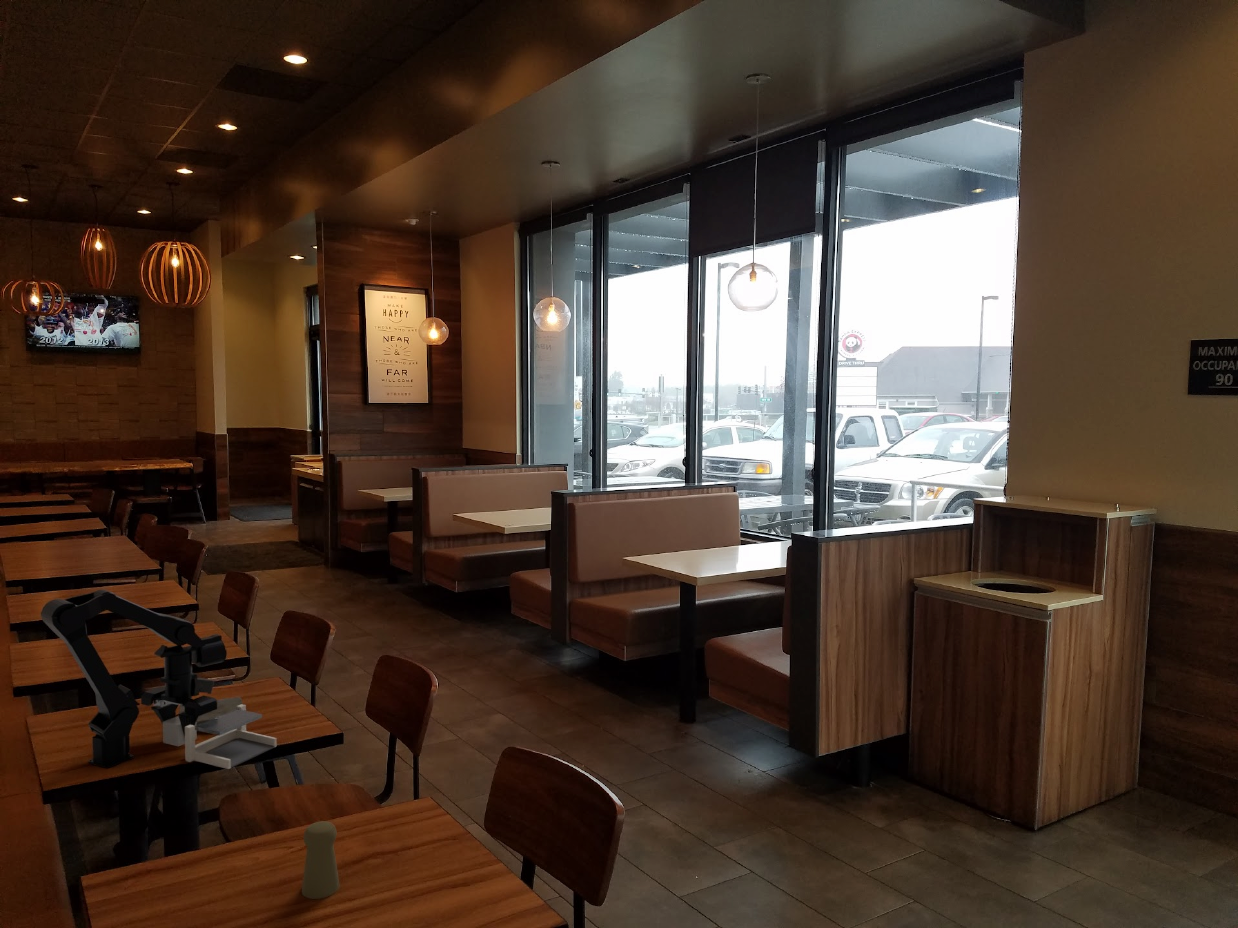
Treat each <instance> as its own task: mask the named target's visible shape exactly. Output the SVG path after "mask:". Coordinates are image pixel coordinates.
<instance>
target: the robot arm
mask: <svg viewBox="0 0 1238 928" xmlns="http://www.w3.org/2000/svg"><path fill="white" fill-rule="evenodd" d="M106 611H107V612H110V613H113V614H116V615H117V616H119V617H122V618H125V619H126V620H130V621H132V622H133V623H137V624H138V625H141V626H142V627H143V626H144V627H145V628H147V629H149V630H150V631H151V632H152V633H154V634H155V635H157V636H158V637H160V638H161V639H163V640H164V641H167V642H168V643H171V644H174V645H173V646H172V645H171V646H168V645H164V644H161V645H160V647H159V648H157V650H155V651H154V656H156V657H158V658H162V659H164V663H163V664H164V676H162V677H160V683H164V686H163V685H161V686H158V687H157V686H156V687H154V688H152V689H149V690H146V691H144V692H143V693H142V695H141V696H140V703H139V702H138V701H137V700H136V697H135V696H134V692H133V691H132V690H131V689H129V688H128V687H126V686H124V685H122V684H118V685H117V684H116V682H115V680H114V678H113V677H112V675H111V673H110V671H109V670H108V668H107V667H106V665H105V664H104V662H103V659H102V658H101V657H100V654H99V653H98V652H97V649H96V648H95V647H94V645H93V643H92V641H91V640H90V637H89V636H88V631H87V622H86V621H89V620H91V619H93V618H94V617H96V616H98V615H100V614H101V613H103V612H106ZM40 617H41V620H42V621H43V623H44V624H45V625H46V626H48V628H49V629H50V631H52V632H53V633H55V635H56V636H57V637H58V638H59V639H61V640H62V642H64V644H65V645H66V647H67V648H68V651H69V652H70V653H71V655H72V656H73V658H74V661H76V664H77V666H78V667H79V669H80V670H81V672H82V673H83V676H84V677H85V678H86V680H87V682H88V683H89V685H90V687H91V689H92V691H94V693H95V702H96V707H97V710H98V712H97V713H96V714H95V715H94V716H93V718H91V720H90V721H89V722H88V724H87V725H88V727H89V729H90V732H92V733H94V734H95V735H93V736H92V738H91V739H92V743H91V744H92V758H91V759H88V761H87V763H88V764H90V765H94V766H98V767H100V768H101V767H102V768H106V769H108V768H111V767H114V766H116V765H119V764H121V763H124V762H126V761H129V760H131V759H134V755H133V754H130V752H131V743H130V742H131V740H130V739H131V738H130V733H131V732H132V731H131V730H132V728H133V725H134V723H136V721H137V720H138V716H139V715H140V710H139V707H138V706H140V705H143V706H147V707H150V706H151V707H150V709H151V711H153V712H154V715H155V714H156V717H157V718H158V720H160V722H161V724H162V725H163V722H164V721H166V720H169V719H171V718H174V717H177V716H179V719H180V723H181V726H182V730H183V733H184V736H185V727H186V726H188V725H194V726H195V724H196V721H197V719H198V717H199V716H201V715H203V714H206V713H208V712H211V711H213V710H216V709H217V700H218V699H216V698H215V697H212V696H208V695H201V696H199V695H200V693H201V694H202V693H203V694H204V693H205V694H209V695H211V694H212V693H213V689H214V684H215V680H213V679H208V678H203V677H198V673H196V672H193V665H196V666H197V667H198V668H202V667H206V666H210V665H215V664H220V663H223V662H225V660H226V659H227V649H226V646H225V642H224V641H223V638H222V637H223V636H222V635H220V634H218V633H216V634H215V633H214V634H211V635H209V636H206V637H200V636H199V635H198V634H197V633H196V628H195V625H194V624H193V622H191V621H188V620H186V619H183V618H181V617H179V616H178V617H177V616H175V615H169V614H165V613H161V612H159V613H158V612H155V611H153V610H151V609H148V608H146V607H143V606H141V605H139V604H137V603H134V602H132V601H130V600H128V599H125V598H123V597H122V596H121V597H120V596H119V595H116V594H115V593H114V592H113V591H110V590H108V589H103V588H102V589H98V590H95V591H92V592H89V593H84V594H80V595H75V596H71V597H68V598H62V599H61V598H54V599H51V600H49V601H48V602H47V603H45V605H44V606H43V607H42V609H41V611H40ZM184 645H188V646H184ZM197 696H199V697H197ZM193 697H195V698H193ZM180 705H181V706H185V712H183V713H180V714H179V713H178V715H177V716H176V711H177V709H178V708H179V706H180Z"/></svg>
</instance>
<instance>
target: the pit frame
mask: <svg viewBox="0 0 1238 928" xmlns="http://www.w3.org/2000/svg"><path fill="white" fill-rule="evenodd" d="M237 709H240V710H245V711H247V705H246V704H243V703H242V704H241V705H238V706H237ZM277 739H278V738H277V737H273V736H269V735H264V734H260V733H256V732H252V731H247V724H246V725H243V726H241V727H239V728H236V729H234V730H232V731H229V732H227V733H225V734H222V735H220V736H219V735H215V736H214V737H211V738H209V739H207V740H204V741H202V742H199V743H197V744H196V739H195V726H194V725H188V726H186V727H185V744H184V747H185V748H184V757H185V762H189V763H191V762H193V761H195V762H199V763H203V764H208V765H211V766H214V767H218V768H223V769H226V770H229V769H232V768H235V767H237V766H238V765H241V764H243V763H245V762H247V761H249V760H252V759H254V758H255V757H257V756H260V755H262V754H264V753H266V752H268V751H270V750H272V749H274V748H276V747H277V745H278V743H277Z"/></svg>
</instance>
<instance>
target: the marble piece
mask: <svg viewBox="0 0 1238 928" xmlns="http://www.w3.org/2000/svg"><path fill="white" fill-rule="evenodd" d="M216 700H217V709H216V710H213V711H211V712H208V713H206V714H203V715H201V716H199V717H198V719H197V721H196V725H199V724H201V723H203V722H206V721H208V720H211V719H213V718H216V717H218V716H221V715H223V714H226V713H228V712H231V711H233V710H236V709H237V706H238V705H241V704H243V699H242V698H241V696H235V697H227V698H226V697H225V698H222V699H216ZM178 708H179V710H178V714H180V713H183V712H185V706H181V705H179V706H178ZM196 731H197V732H201V731H198V730H196Z"/></svg>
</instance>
